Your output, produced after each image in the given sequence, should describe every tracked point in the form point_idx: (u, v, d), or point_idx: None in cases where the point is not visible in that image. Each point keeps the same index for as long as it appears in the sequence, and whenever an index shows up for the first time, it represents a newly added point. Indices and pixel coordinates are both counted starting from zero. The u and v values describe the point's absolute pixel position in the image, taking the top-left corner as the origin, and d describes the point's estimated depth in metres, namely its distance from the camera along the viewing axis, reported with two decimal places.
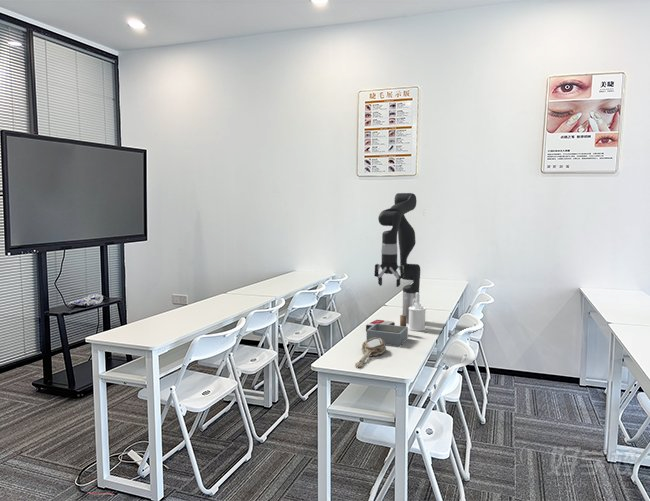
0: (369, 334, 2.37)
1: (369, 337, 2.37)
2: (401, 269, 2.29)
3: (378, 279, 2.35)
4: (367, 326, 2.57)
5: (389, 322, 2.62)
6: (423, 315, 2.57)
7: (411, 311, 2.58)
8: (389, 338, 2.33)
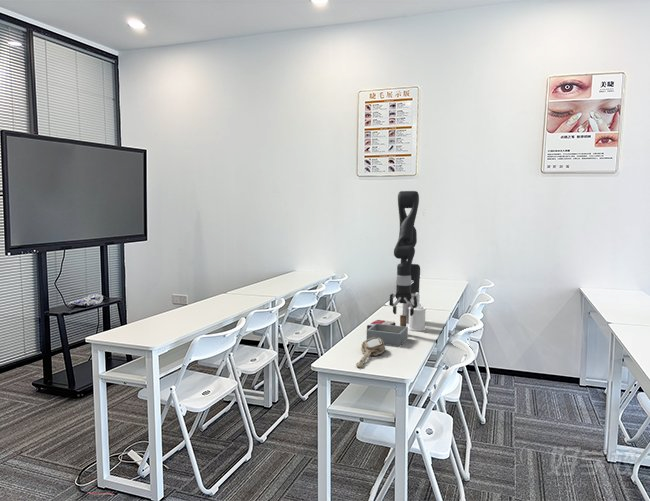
0: (369, 334, 2.37)
1: (369, 337, 2.37)
2: (415, 299, 2.45)
3: (393, 308, 2.51)
4: (368, 326, 2.56)
5: (390, 322, 2.62)
6: (423, 315, 2.57)
7: None
8: (389, 338, 2.33)
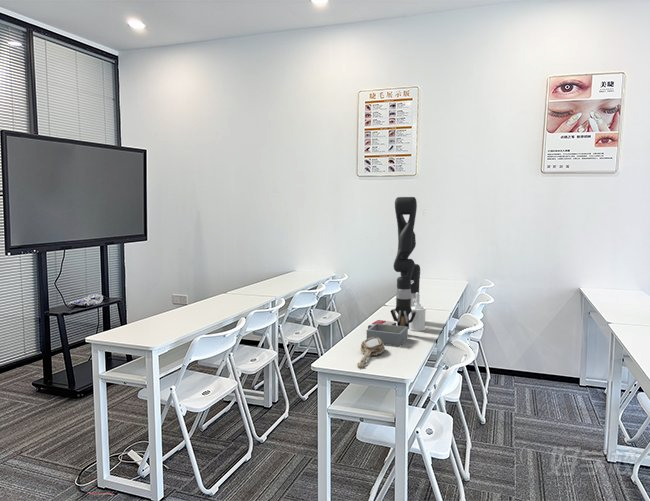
0: (369, 334, 2.37)
1: (369, 337, 2.37)
2: (413, 315, 2.46)
3: (397, 323, 2.51)
4: (369, 327, 2.55)
5: (391, 322, 2.61)
6: (423, 315, 2.57)
7: None
8: (389, 338, 2.33)
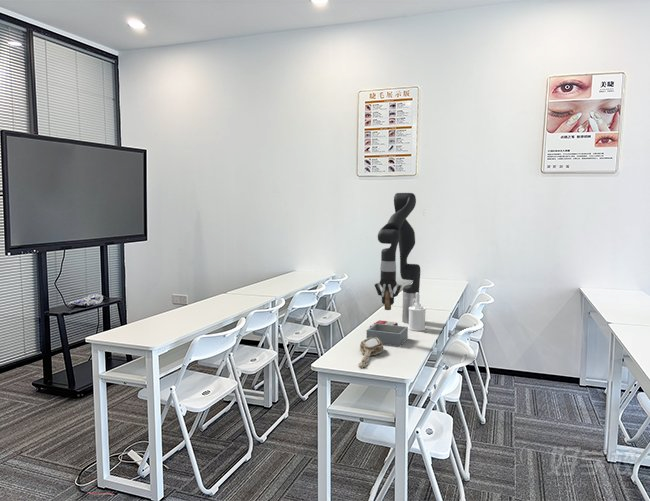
0: (369, 334, 2.37)
1: (369, 337, 2.37)
2: (398, 289, 2.35)
3: (382, 298, 2.39)
4: None
5: (392, 323, 2.61)
6: (423, 315, 2.57)
7: (411, 311, 2.58)
8: (389, 338, 2.33)
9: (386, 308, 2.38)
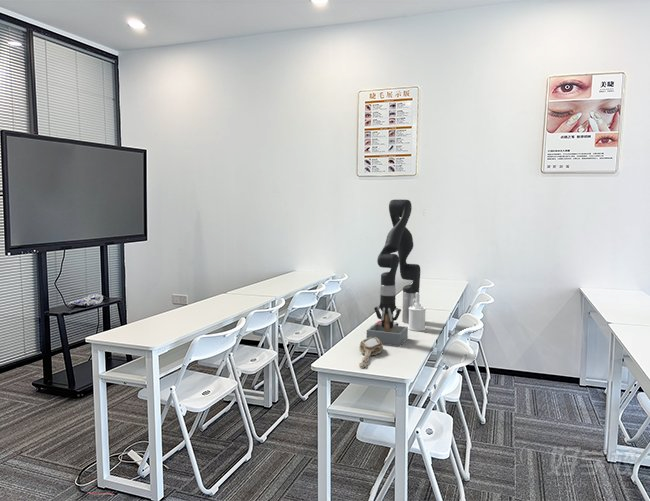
0: (369, 334, 2.37)
1: None
2: (397, 313, 2.36)
3: None
4: None
5: None
6: (423, 315, 2.57)
7: (411, 311, 2.58)
8: (389, 338, 2.33)
9: None
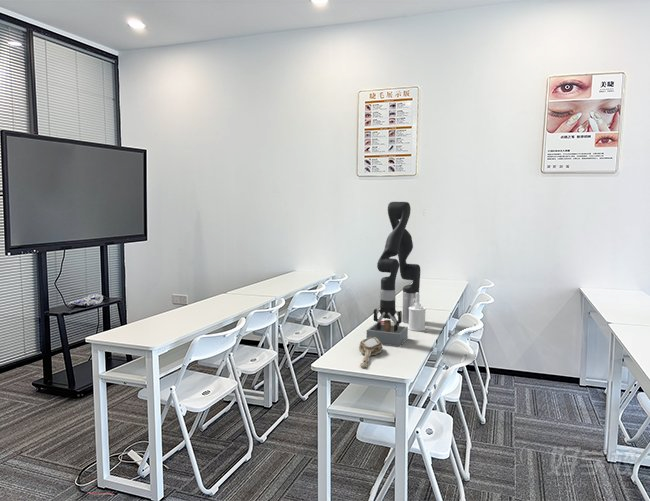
0: (369, 334, 2.37)
1: None
2: (399, 315, 2.36)
3: (377, 324, 2.42)
4: None
5: None
6: (423, 315, 2.57)
7: (411, 311, 2.58)
8: (389, 338, 2.33)
9: None
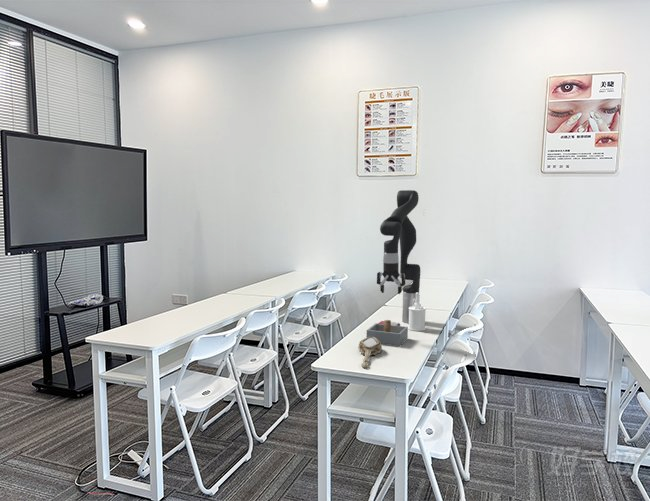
0: (369, 334, 2.37)
1: None
2: (402, 277, 2.38)
3: (380, 286, 2.44)
4: None
5: (395, 323, 2.60)
6: (423, 315, 2.57)
7: (411, 311, 2.58)
8: (389, 338, 2.33)
9: None
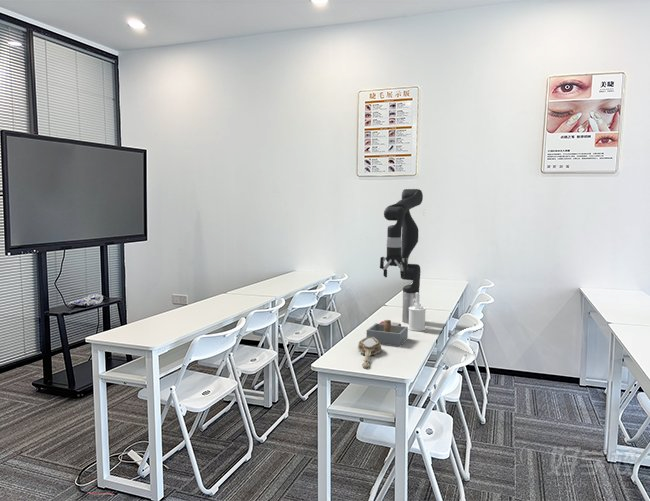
0: (369, 334, 2.37)
1: None
2: (405, 261, 2.42)
3: None
4: None
5: (396, 323, 2.59)
6: (423, 315, 2.57)
7: (411, 311, 2.58)
8: (389, 338, 2.33)
9: None
